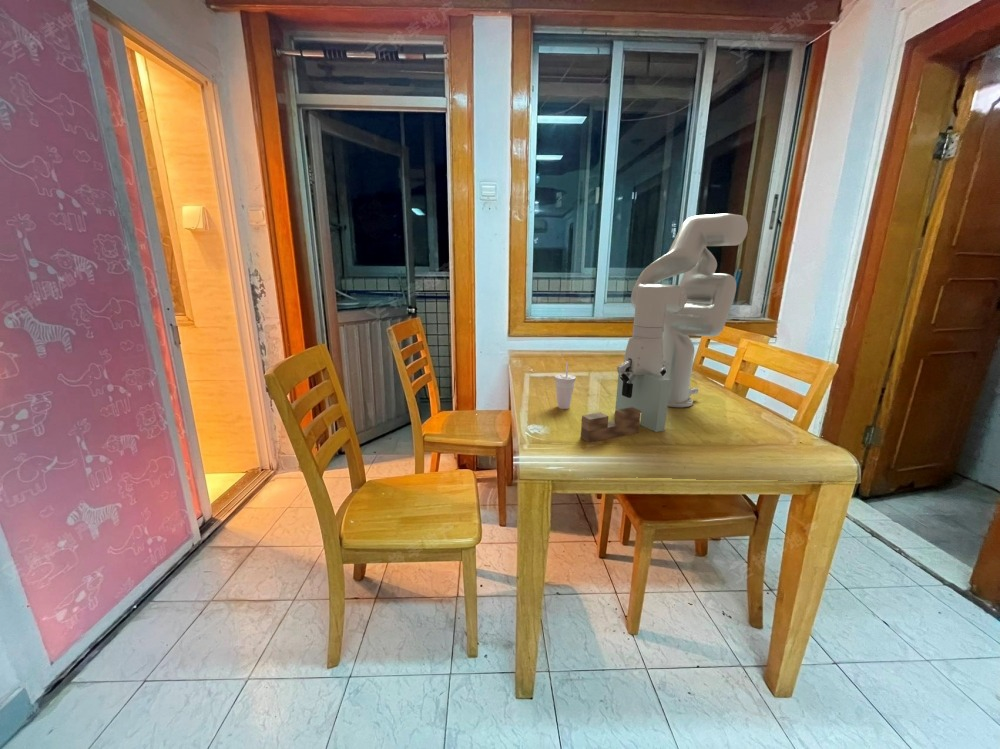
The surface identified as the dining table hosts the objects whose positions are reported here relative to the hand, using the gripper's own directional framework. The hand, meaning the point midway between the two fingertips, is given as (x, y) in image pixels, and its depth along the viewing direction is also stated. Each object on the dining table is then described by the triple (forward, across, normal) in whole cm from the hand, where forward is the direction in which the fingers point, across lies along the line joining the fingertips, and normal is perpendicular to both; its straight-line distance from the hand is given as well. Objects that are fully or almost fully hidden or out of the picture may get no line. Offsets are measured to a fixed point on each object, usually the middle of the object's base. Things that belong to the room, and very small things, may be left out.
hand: (640, 394), depth 110 cm
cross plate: (+8, -1, 0) cm, 8 cm away
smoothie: (+8, +12, -18) cm, 23 cm away
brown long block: (+8, +13, +5) cm, 16 cm away
